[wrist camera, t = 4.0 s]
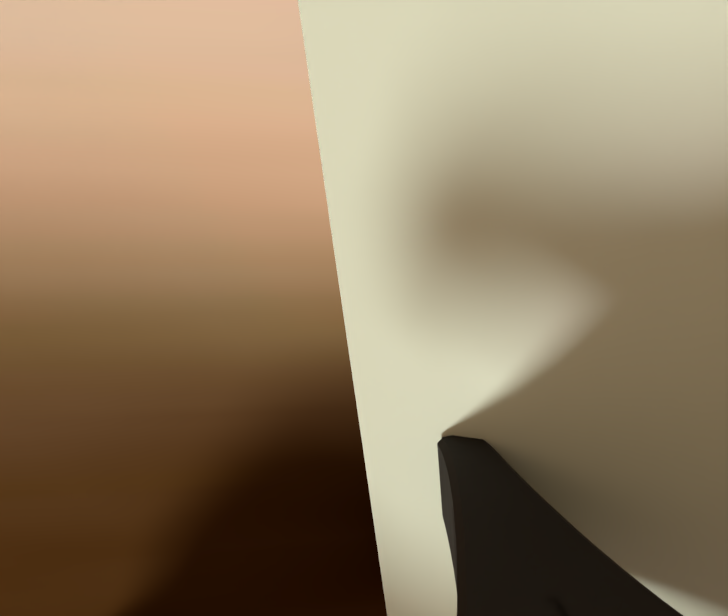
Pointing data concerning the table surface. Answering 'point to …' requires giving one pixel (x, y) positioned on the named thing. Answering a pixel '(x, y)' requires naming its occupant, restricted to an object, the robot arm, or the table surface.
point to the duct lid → (535, 268)
